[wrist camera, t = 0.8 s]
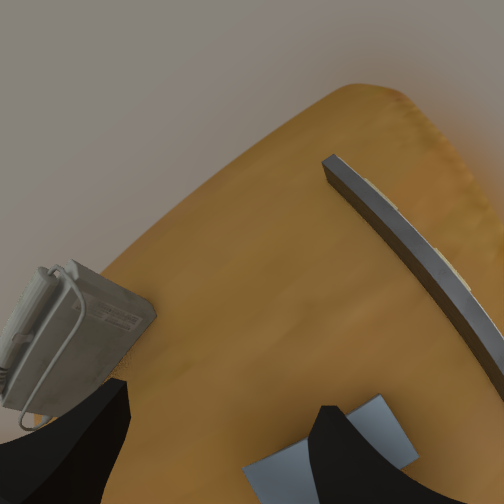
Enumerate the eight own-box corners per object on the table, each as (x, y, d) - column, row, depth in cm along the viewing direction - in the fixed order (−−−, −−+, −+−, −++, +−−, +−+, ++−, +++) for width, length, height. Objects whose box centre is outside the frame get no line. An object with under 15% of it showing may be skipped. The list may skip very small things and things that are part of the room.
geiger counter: (44, 233, 21) (-34, 395, 19) (54, 274, 18) (-26, 440, 15) (142, 291, 33) (50, 415, 30) (169, 327, 29) (65, 452, 27)
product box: (407, 438, 17) (419, 457, 11) (304, 494, 17) (275, 526, 12) (378, 393, 19) (380, 394, 13) (278, 450, 20) (241, 468, 14)
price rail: (537, 413, 12) (554, 414, 9) (520, 432, 12) (536, 435, 9) (343, 170, 29) (338, 150, 27) (327, 181, 29) (321, 162, 27)
